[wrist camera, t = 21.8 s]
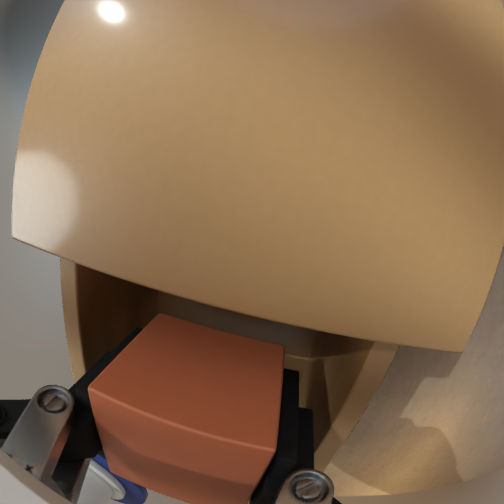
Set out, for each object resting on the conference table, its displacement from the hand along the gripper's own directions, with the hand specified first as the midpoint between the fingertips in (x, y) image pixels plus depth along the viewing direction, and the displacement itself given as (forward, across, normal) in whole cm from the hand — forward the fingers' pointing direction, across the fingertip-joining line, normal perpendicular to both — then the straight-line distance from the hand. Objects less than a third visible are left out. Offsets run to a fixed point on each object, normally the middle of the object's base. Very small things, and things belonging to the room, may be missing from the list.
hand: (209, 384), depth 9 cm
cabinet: (+7, 0, -12) cm, 14 cm away
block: (0, 0, 0) cm, 0 cm away
